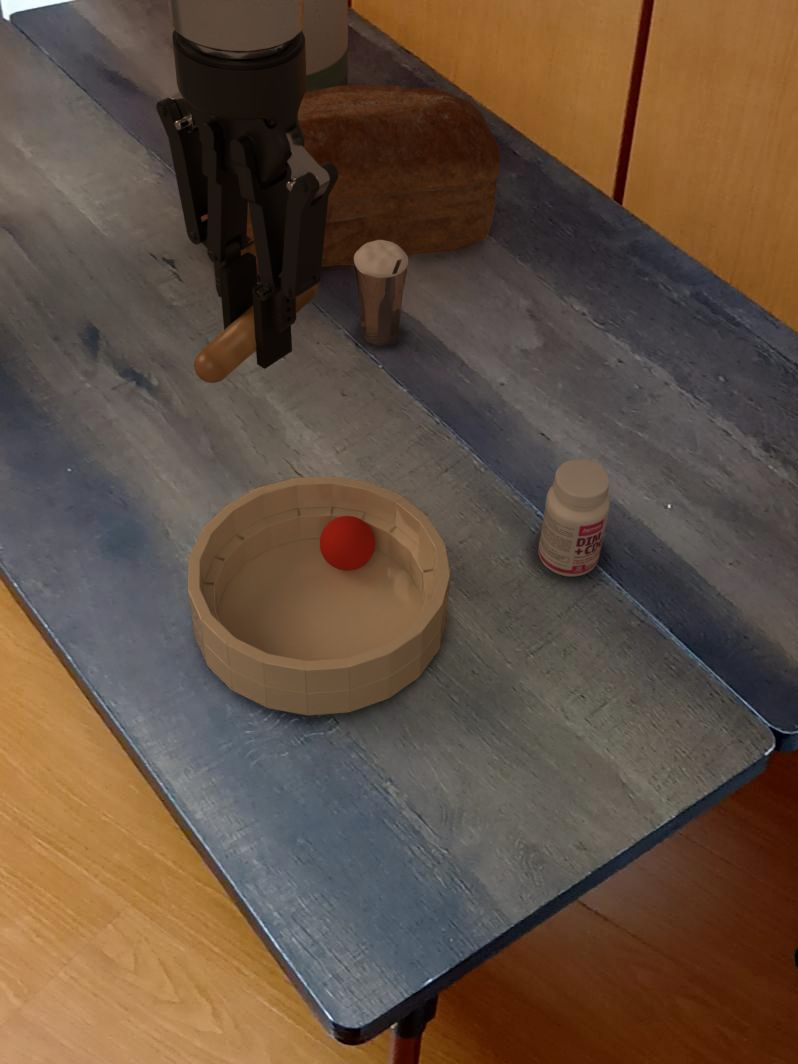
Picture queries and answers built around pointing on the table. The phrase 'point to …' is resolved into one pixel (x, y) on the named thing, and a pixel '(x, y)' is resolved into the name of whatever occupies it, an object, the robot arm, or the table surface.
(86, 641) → the table surface
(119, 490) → the table surface
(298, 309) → the sausage
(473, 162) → the bread
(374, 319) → the milkshake
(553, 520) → the pill bottle
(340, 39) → the vase
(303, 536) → the bowl
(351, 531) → the red ball
